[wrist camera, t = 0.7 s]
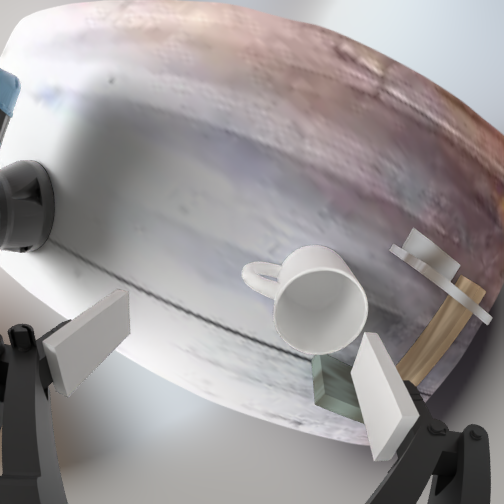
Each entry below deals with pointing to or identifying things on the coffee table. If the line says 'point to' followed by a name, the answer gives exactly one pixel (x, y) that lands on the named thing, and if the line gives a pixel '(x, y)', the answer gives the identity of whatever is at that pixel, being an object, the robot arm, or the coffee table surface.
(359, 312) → the mug
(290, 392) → the coffee table surface
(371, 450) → the robot arm
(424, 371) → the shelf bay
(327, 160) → the coffee table surface
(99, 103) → the coffee table surface
